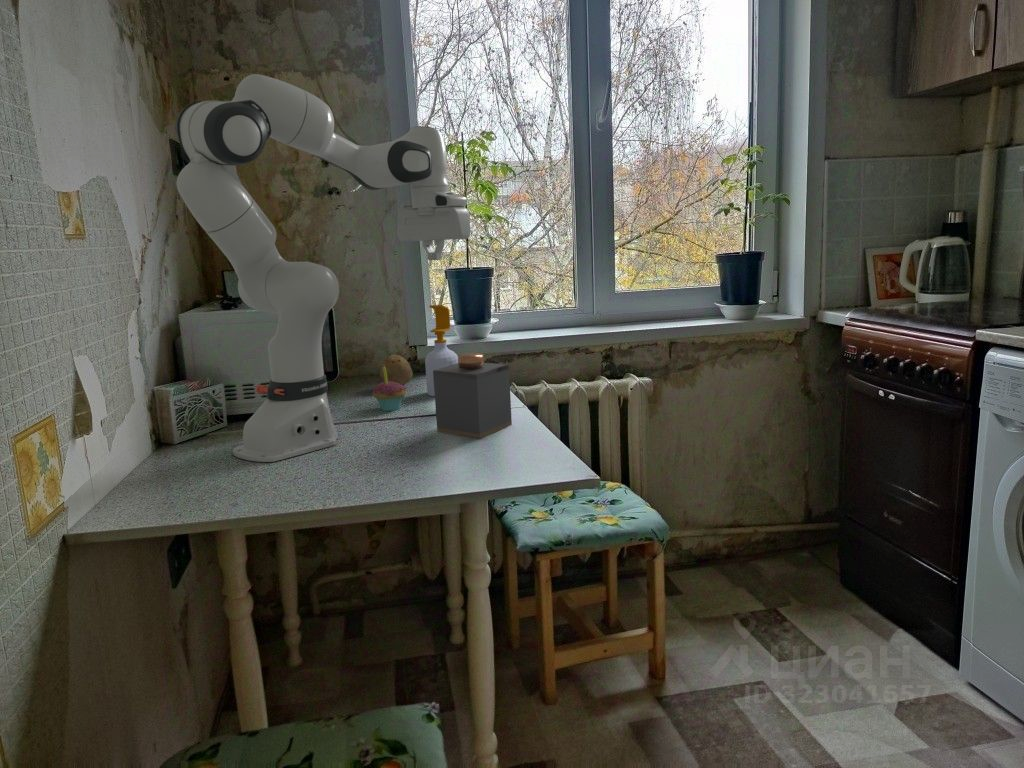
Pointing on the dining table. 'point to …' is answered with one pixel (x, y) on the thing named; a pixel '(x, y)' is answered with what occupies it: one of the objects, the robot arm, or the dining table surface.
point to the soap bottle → (439, 347)
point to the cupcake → (389, 394)
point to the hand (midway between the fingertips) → (434, 260)
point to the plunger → (470, 360)
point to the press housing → (472, 399)
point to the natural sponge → (396, 369)
